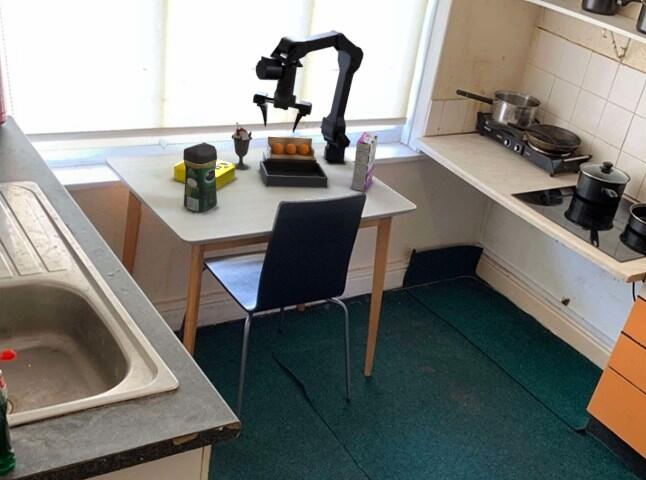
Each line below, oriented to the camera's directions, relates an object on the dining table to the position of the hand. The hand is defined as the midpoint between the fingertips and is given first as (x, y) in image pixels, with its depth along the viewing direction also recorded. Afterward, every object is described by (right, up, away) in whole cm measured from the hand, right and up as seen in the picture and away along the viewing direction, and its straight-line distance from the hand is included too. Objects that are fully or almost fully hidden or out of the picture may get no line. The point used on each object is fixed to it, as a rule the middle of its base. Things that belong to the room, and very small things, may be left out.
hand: (279, 129), depth 251 cm
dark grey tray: (+4, -16, +3) cm, 16 cm away
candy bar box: (+27, -16, +8) cm, 33 cm away
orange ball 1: (-1, -6, +2) cm, 6 cm away
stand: (+2, -11, +9) cm, 14 cm away
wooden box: (+3, -7, +5) cm, 9 cm away
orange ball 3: (+8, -5, +5) cm, 10 cm away
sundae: (-14, -11, +5) cm, 18 cm away
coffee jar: (-20, -32, -25) cm, 45 cm away
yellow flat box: (-23, -18, -7) cm, 30 cm away
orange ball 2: (+3, -5, +4) cm, 7 cm away
